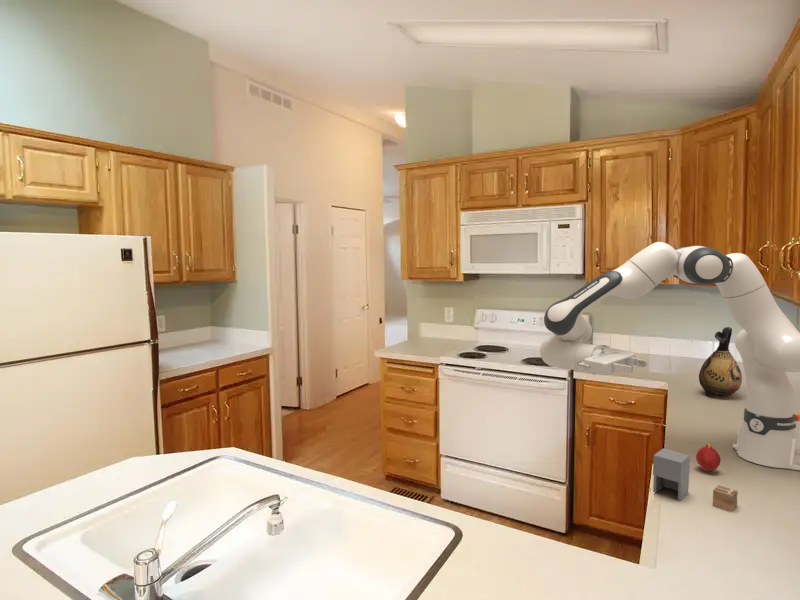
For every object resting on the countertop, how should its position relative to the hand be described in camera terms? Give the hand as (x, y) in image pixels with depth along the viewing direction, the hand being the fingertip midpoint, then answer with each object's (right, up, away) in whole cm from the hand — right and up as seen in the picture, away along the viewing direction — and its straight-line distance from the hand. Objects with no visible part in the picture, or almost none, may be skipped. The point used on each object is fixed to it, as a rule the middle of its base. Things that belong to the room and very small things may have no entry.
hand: (639, 366), depth 135 cm
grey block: (+3, -31, -11) cm, 33 cm away
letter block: (+12, -32, -17) cm, 38 cm away
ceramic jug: (+71, -23, +74) cm, 106 cm away
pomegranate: (+20, -30, +2) cm, 36 cm away
